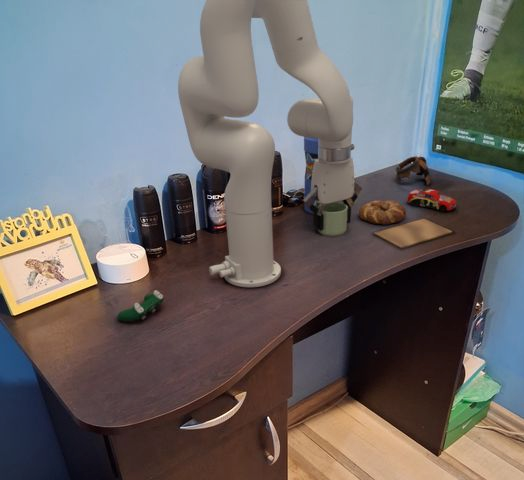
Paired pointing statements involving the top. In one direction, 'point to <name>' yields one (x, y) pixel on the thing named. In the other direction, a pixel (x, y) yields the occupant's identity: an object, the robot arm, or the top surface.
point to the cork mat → (412, 233)
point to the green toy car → (142, 307)
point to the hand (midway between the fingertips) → (332, 224)
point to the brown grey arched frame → (413, 168)
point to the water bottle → (310, 164)
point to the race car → (431, 199)
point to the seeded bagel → (382, 212)
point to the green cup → (334, 219)
